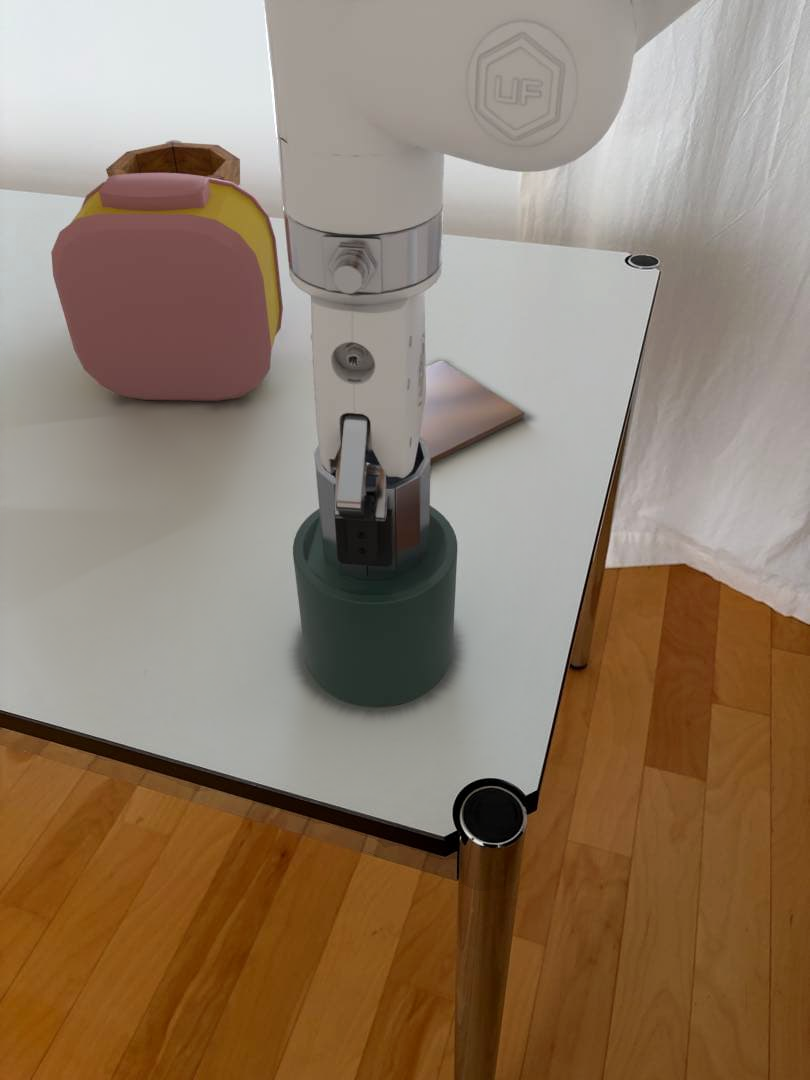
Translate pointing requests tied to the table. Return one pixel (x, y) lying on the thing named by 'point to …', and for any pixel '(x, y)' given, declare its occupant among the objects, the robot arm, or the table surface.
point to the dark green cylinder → (377, 620)
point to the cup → (404, 500)
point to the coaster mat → (460, 411)
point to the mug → (180, 161)
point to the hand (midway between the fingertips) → (374, 517)
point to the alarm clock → (170, 287)
